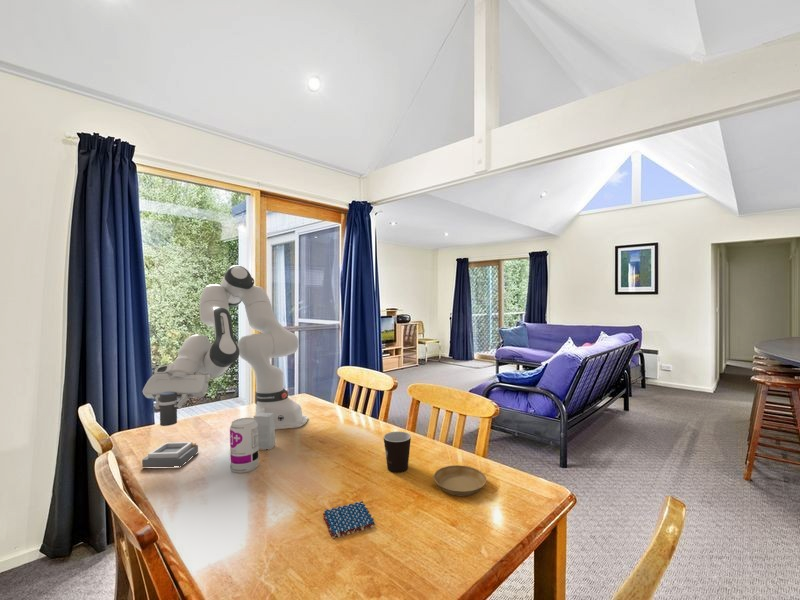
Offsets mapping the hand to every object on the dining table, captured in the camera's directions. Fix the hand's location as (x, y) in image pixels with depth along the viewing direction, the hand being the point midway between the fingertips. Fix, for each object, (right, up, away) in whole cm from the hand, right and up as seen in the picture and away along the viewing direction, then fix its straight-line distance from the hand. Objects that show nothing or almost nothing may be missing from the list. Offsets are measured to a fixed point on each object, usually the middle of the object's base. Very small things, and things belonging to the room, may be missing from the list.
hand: (167, 408), depth 124 cm
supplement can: (+28, -18, -5) cm, 34 cm away
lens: (0, -5, +1) cm, 5 cm away
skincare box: (+28, -18, +11) cm, 35 cm away
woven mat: (+65, -18, -34) cm, 75 cm away
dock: (+1, -18, +1) cm, 18 cm away
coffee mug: (+77, -17, -6) cm, 79 cm away
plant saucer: (+94, -17, -18) cm, 98 cm away
